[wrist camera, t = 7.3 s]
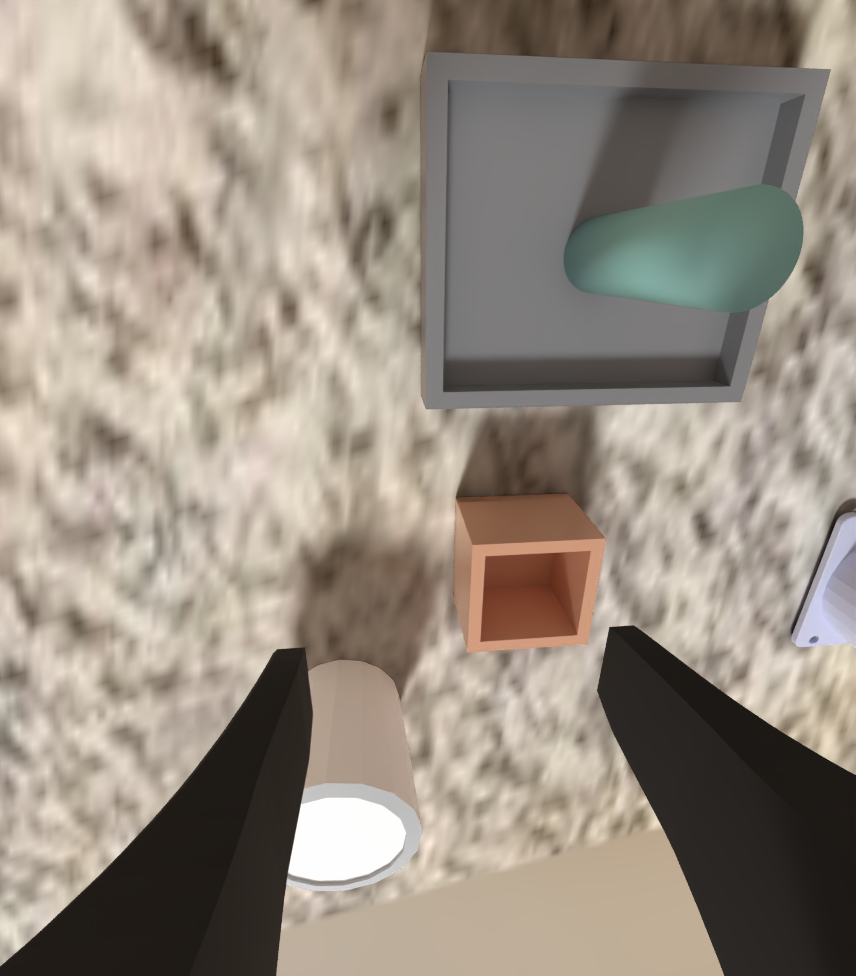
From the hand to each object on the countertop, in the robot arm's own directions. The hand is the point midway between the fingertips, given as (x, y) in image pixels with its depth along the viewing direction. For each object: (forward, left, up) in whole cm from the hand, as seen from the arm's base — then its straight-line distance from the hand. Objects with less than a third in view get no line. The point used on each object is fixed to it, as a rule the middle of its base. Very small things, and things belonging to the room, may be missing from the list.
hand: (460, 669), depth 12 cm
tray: (-6, -9, -10) cm, 15 cm away
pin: (-6, -9, -9) cm, 14 cm away
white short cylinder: (+4, +12, -11) cm, 17 cm away
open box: (-4, +3, -10) cm, 12 cm away
